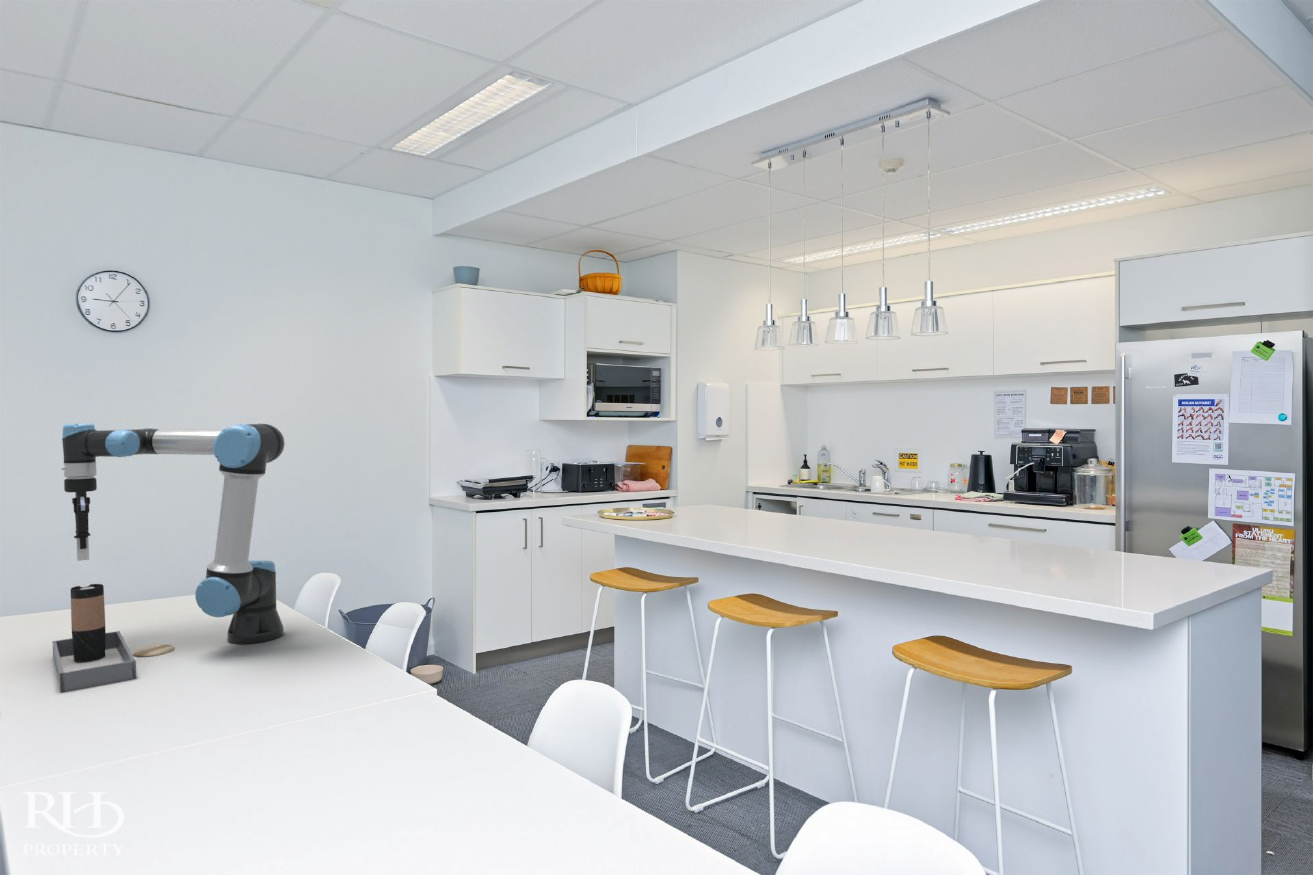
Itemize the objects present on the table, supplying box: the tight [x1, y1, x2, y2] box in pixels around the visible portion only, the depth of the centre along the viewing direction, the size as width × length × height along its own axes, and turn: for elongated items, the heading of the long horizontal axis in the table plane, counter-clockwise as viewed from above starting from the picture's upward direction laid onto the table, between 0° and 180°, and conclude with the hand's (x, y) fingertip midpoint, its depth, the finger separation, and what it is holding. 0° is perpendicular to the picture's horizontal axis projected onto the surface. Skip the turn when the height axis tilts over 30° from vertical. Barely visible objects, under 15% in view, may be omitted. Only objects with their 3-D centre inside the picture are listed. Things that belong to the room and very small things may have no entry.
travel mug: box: [70, 583, 106, 663], centre depth 223 cm, size 8×8×20 cm
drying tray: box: [51, 630, 137, 693], centre depth 216 cm, size 37×16×4 cm, turn 39°
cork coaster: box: [132, 644, 175, 658], centre depth 229 cm, size 10×10×1 cm
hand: (83, 559), depth 231 cm, fingers closed
